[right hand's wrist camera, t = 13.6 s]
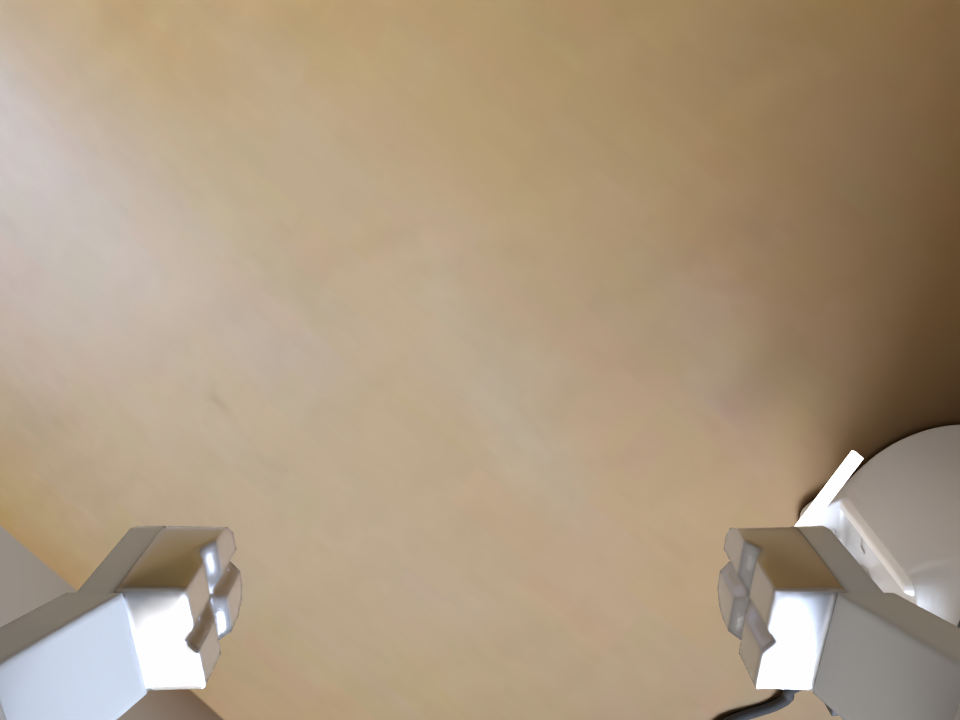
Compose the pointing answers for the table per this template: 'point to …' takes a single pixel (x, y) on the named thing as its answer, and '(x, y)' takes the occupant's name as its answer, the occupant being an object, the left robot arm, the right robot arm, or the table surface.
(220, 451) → the table surface
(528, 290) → the table surface
